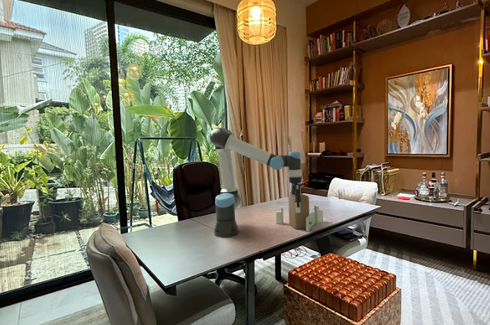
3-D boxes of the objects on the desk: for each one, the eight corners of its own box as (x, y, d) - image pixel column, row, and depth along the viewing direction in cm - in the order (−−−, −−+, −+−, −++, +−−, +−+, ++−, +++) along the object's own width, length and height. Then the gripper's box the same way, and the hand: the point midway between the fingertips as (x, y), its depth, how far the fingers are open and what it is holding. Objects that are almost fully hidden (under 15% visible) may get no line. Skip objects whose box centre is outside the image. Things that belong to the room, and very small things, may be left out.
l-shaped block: (276, 223, 176) (275, 207, 175) (276, 223, 178) (275, 206, 177) (323, 222, 175) (322, 205, 174) (322, 221, 177) (321, 205, 176)
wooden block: (310, 227, 165) (309, 196, 164) (295, 229, 163) (294, 197, 161) (302, 223, 175) (301, 193, 173) (288, 225, 172) (287, 194, 171)
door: (313, 222, 175) (313, 210, 174) (318, 222, 174) (317, 210, 173) (306, 231, 158) (305, 218, 158) (310, 231, 157) (310, 218, 156)
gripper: (305, 178, 152) (306, 214, 154) (297, 173, 177) (298, 204, 179) (292, 179, 153) (293, 215, 154) (286, 174, 178) (287, 205, 179)
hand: (296, 209), depth 167 cm, fingers open, 13 cm apart
